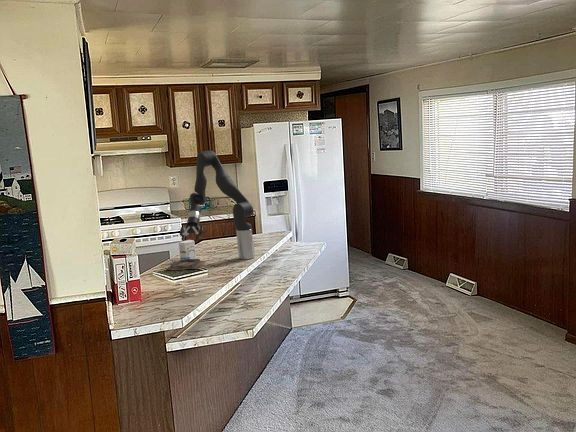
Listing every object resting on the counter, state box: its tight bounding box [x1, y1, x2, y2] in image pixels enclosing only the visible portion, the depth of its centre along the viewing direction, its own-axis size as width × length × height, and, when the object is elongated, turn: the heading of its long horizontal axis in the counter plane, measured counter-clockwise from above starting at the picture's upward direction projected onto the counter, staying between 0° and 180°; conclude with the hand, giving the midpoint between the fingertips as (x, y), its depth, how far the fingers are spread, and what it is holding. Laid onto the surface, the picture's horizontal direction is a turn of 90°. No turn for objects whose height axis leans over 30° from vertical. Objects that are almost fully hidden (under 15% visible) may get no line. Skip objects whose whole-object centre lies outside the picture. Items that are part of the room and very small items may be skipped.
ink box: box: [178, 239, 197, 260], centre depth 319 cm, size 9×5×12 cm, turn 143°
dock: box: [165, 258, 207, 270], centre depth 304 cm, size 18×18×4 cm
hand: (189, 240), depth 324 cm, fingers open, 8 cm apart
